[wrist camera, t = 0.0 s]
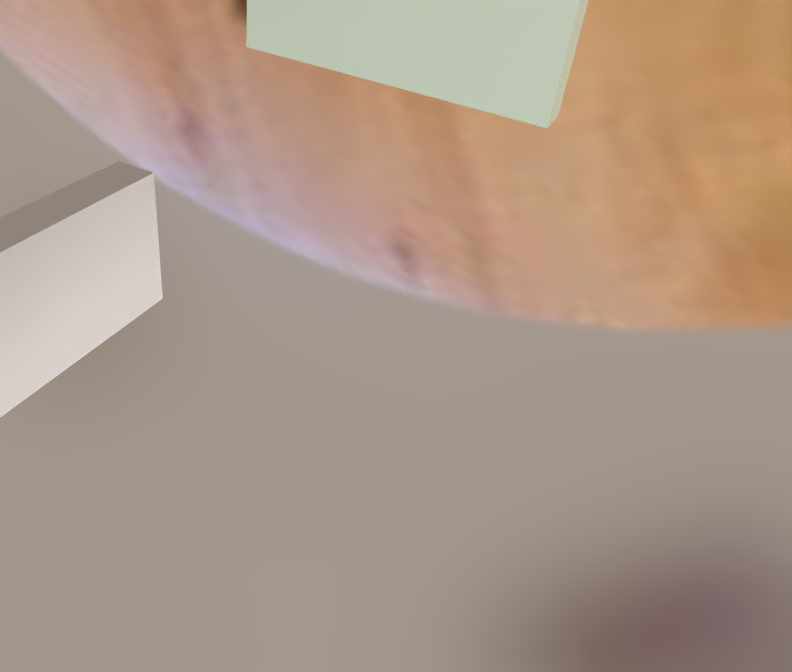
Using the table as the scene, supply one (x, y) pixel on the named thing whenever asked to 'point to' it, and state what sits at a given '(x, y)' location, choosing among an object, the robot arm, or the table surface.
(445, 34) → the pale green u-shaped slab
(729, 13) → the table surface
